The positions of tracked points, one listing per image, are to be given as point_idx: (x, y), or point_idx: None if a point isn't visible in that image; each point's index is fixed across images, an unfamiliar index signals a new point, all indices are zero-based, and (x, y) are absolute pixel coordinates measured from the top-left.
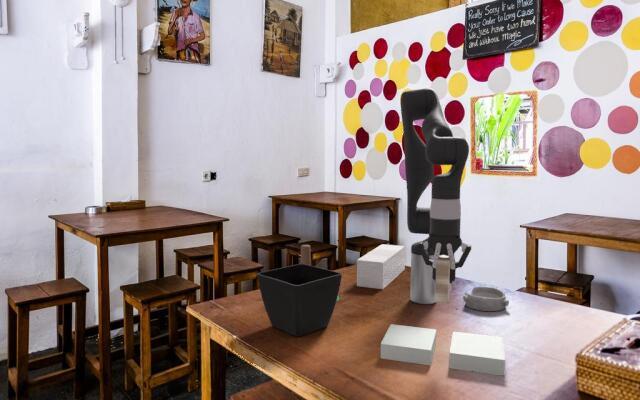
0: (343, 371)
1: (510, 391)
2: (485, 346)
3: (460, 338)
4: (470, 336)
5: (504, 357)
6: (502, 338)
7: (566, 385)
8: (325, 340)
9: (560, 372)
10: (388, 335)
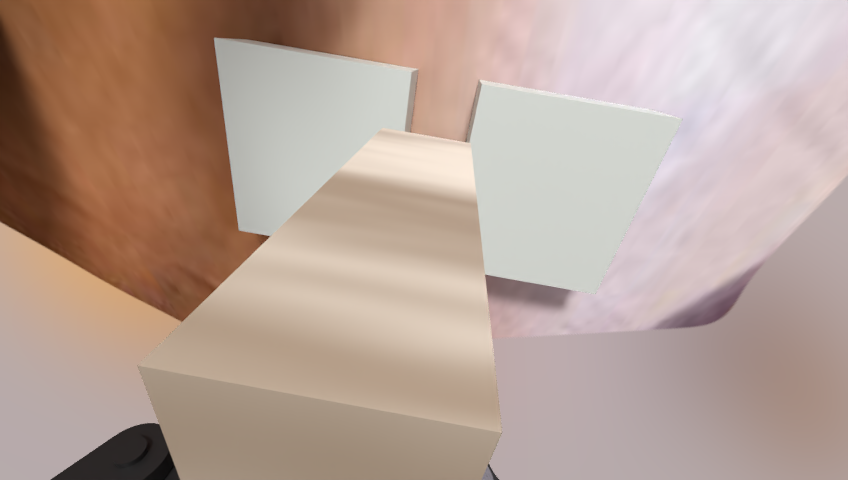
0: (205, 280)
1: (564, 325)
2: (571, 213)
3: (498, 155)
4: (543, 130)
5: (601, 280)
6: (674, 130)
7: (721, 294)
8: (58, 108)
9: (760, 233)
10: (241, 164)
